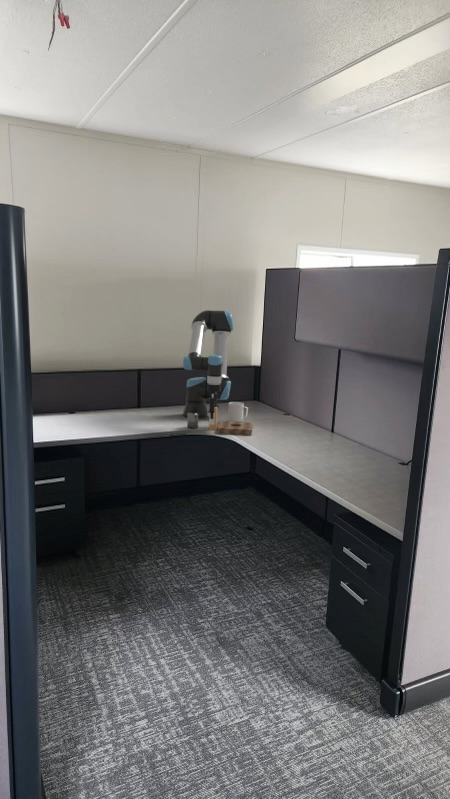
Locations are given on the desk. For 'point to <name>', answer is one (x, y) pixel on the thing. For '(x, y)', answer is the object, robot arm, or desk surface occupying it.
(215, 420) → the square peg
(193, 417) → the grey rounded block
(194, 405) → the robot arm
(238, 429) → the socket block
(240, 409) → the mug
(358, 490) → the desk surface
